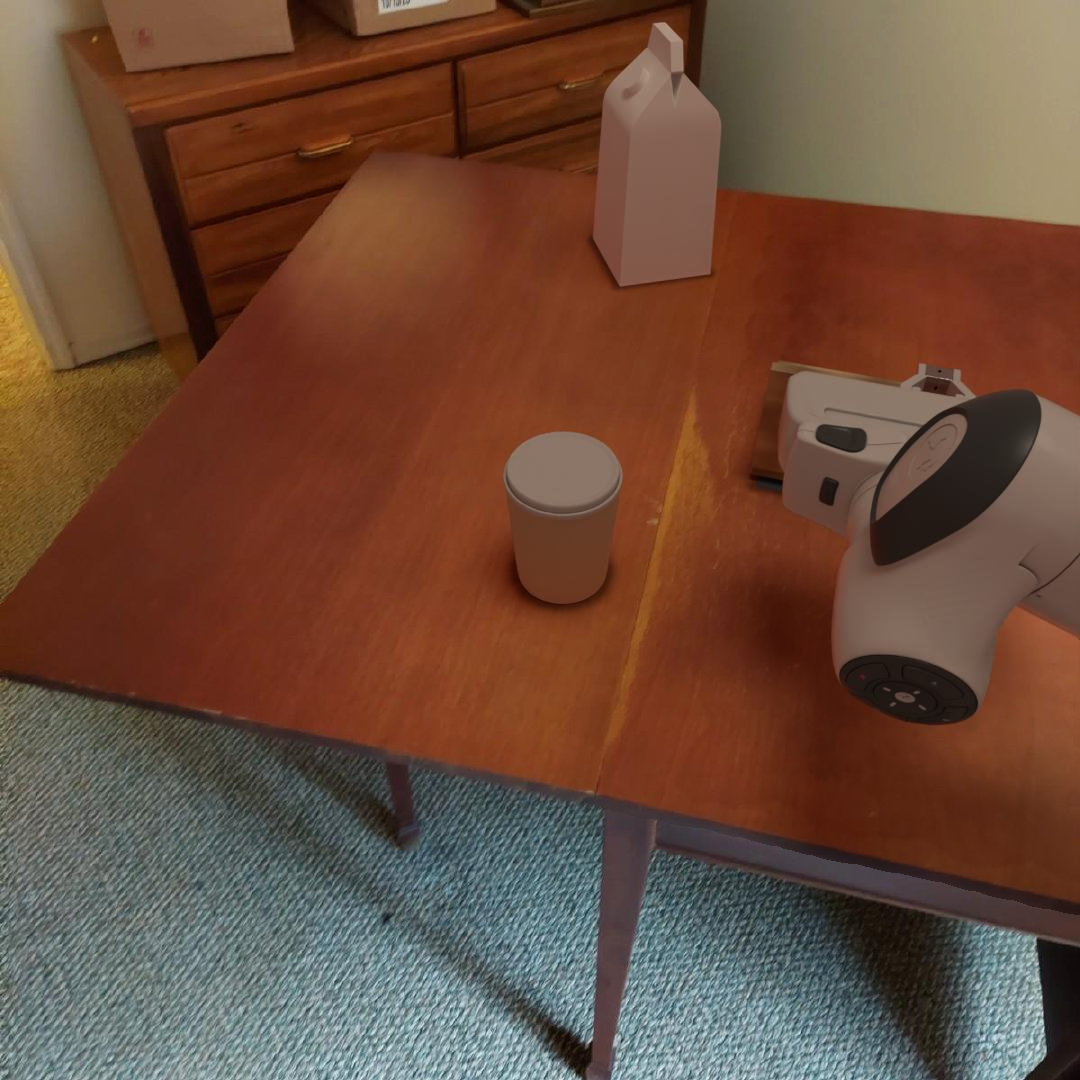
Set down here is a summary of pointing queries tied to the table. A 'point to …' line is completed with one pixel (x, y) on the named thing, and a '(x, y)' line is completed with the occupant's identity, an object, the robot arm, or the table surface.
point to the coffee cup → (562, 513)
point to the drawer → (770, 419)
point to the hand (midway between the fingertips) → (936, 373)
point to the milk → (657, 169)
